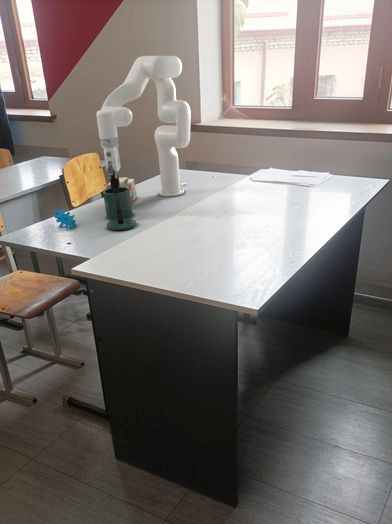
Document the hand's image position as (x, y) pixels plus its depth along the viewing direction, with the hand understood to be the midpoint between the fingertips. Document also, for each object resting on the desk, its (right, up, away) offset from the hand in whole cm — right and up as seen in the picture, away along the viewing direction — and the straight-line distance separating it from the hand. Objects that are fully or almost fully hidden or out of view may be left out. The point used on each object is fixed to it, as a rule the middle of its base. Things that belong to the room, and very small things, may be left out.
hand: (115, 186), depth 220 cm
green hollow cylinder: (+1, -11, +7) cm, 13 cm away
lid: (+3, -18, -5) cm, 19 cm away
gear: (-21, -18, -1) cm, 27 cm away
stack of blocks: (+1, -1, +23) cm, 23 cm away
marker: (0, -3, +2) cm, 3 cm away
